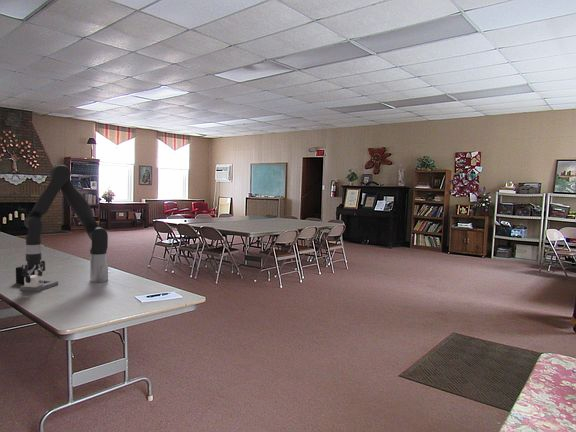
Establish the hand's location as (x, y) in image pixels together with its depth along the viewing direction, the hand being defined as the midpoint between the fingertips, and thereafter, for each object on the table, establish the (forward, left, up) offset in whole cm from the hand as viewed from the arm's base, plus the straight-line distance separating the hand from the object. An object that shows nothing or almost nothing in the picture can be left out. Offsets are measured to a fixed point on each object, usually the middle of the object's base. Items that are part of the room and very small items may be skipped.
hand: (34, 280), depth 229 cm
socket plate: (0, -4, -5) cm, 6 cm away
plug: (0, 0, -5) cm, 5 cm away
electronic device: (+14, -9, -5) cm, 17 cm away
